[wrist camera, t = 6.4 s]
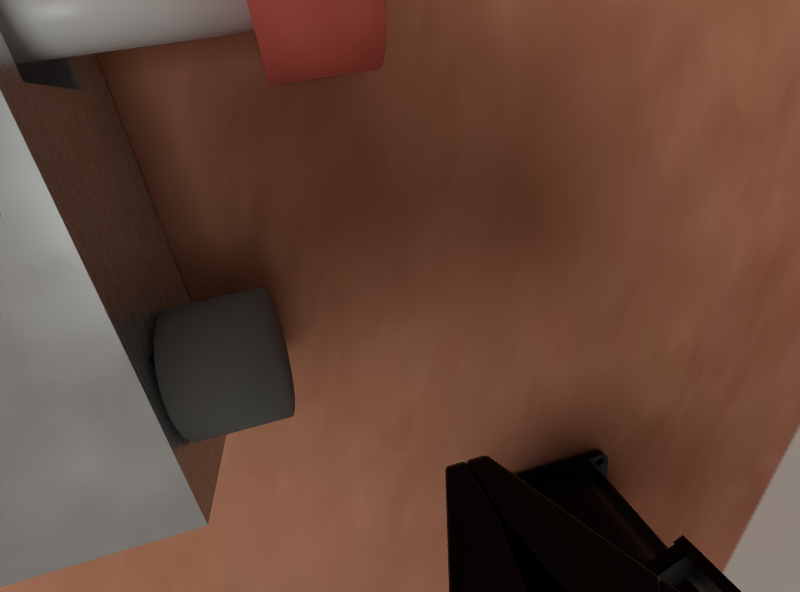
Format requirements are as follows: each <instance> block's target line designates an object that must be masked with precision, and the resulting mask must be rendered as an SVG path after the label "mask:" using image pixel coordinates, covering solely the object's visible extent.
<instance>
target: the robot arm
mask: <svg viewBox="0 0 800 592" xmlns="http://www.w3.org/2000/svg"><path fill="white" fill-rule="evenodd" d="M607 466H608V458H607V456H606V455H605V454H604V453H603V452H602V451H601V450H596V451H592V452H589V453H586V454H583V455H580V456H576V457H573V458H570V459H567V460H564V461H561V462H557V463H554V464H551V465H548V466H545V467H541V468H538V469H535V470H532V471H529V472H525V473H522V474H519V475H516V476H515V475H514V474H513V473H511V472H510V471H508V470H507V469H505V468H504V467H503V466H501V465H500V464H498V463H497V462H496V461H494V460H493V459H491V458H490V457H488V456H485V455H484V456H480V457H477V458H473V459H470V460H468V461H467V463H465V462H460V463H457V464H454V465H450V466H448V467H446V471H445V474H446V506H447V538H448V570H449V592H741V591H740V590H739V589H738V588H737V587H736V586H735V585H734V584H733V583H732V582H731V581H729V579H727V577H726V576H724V575H723V574H722V573H721V572H720V571H719V570H718V569H717V568H716V567H715V566H714V565H713V564H712V563H711V562H710V561H709V560H708V559H707V558H706V557H705V556H704V555H703V554H702V553H701V552H700V551H699V550H698V549H697V548H696V547H695V546H694V545H693V544H691V543H690V542H689V541H688V540H687V539H686V538H685V537H684V536H683V535H682V536H681V537H680V538H678V539H677V540H675V541H674V545H672V546H671V547H670V548H668V547H667V546H666V545H665V544H664V543H663V542H662V541H661V540H660V538H659V537H658V536H657V535H656V534H655V533H654V532H653V530H652V529H651V528H650V527H649V526H648V525H647V524H646V523H645V521H644V520H643V519H642V518H641V517H640V516H639V515H638V513H637V512H636V511H635V510H634V509H633V508H632V507H631V506H630V504H629V503H628V502H627V501H626V500H625V499H624V498H623V496H622V495H621V494H620V493H619V492H618V491H617V490H616V488H615V487H614V486H613V485H612V484H611V483H610V482H609V481H608V479H607Z"/></svg>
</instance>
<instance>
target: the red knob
mask: <svg viewBox="0 0 800 592" xmlns="http://www.w3.org/2000/svg"><path fill="white" fill-rule="evenodd" d="M0 31H1V34H2V36H3V38H4V40H5V43H6V45H7V47H8V49H9V51H10V54H11V56H12V58H13V60H14V62H15V64H21V63H28V62H36V61H43V60H50V59H58V58H65V57H72V56H80V55H87V54H94V53H102V52H109V51H116V50H124V49H131V48H138V47H146V46H153V45H160V44H168V43H175V42H182V41H190V40H197V39H204V38H212V37H219V36H226V35H234V34H241V33H248V32H255V34H256V38H257V42H258V45H259V49H260V53H261V56H262V60H263V64H264V67H265V71H266V74H267V78H268V81H269V84H270V86H276V85H283V84H289V83H295V82H302V81H308V80H315V79H321V78H328V77H334V76H340V75H347V74H353V73H360V72H366V71H372V70H379V69H380V68H381V66H382V63H383V59H384V53H385V42H386V5H385V0H0Z"/></svg>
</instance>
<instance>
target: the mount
mask: <svg viewBox="0 0 800 592" xmlns="http://www.w3.org/2000/svg"><path fill="white" fill-rule="evenodd" d="M187 303H191V302H190V299H189V297H188V294H187V292H186V289H185V286H184V284H183V281H182V279H181V276H180V273H179V271H178V268H177V266H176V263H175V260H174V258H173V255H172V253H171V250H170V247H169V245H168V242H167V240H166V237H165V234H164V232H163V229H162V227H161V224H160V221H159V219H158V216H157V214H156V211H155V208H154V206H153V203H152V201H151V198H150V195H149V193H148V190H147V188H146V185H145V182H144V180H143V177H142V175H141V172H140V170H139V167H138V164H137V162H136V159H135V157H134V154H133V151H132V149H131V146H130V144H129V141H128V138H127V136H126V133H125V131H124V128H123V125H122V123H121V120H120V118H119V115H118V112H117V110H116V107H115V105H114V102H113V99H112V97H111V94H110V92H109V89H108V86H107V84H106V81H105V79H104V76H103V73H102V71H101V68H100V66H99V63H98V60H97V58H96V55H95V53H94V54H87V55H80V56H72V57H65V58H58V59H50V60H43V61H36V62H28V63H21V64H15V62H14V60H13V58H12V56H11V54H10V51H9V49H8V47H7V45H6V43H5V40H4V38H3V36H2V34H1V31H0V587H2V586H5V585H9V584H12V583H16V582H19V581H22V580H26V579H29V578H32V577H36V576H39V575H42V574H46V573H49V572H52V571H56V570H59V569H62V568H66V567H69V566H73V565H76V564H79V563H83V562H86V561H89V560H93V559H96V558H99V557H103V556H106V555H109V554H113V553H116V552H119V551H123V550H126V549H130V548H133V547H136V546H140V545H143V544H146V543H150V542H153V541H156V540H160V539H163V538H166V537H170V536H173V535H176V534H180V533H183V532H187V531H190V530H193V529H197V528H200V527H203V526H207V525H208V522H209V517H210V512H211V507H212V502H213V497H214V492H215V488H216V483H217V478H218V473H219V468H220V463H221V458H222V453H223V448H224V444H225V439H226V434H225V435H222V436H218V437H214V438H211V439H207V440H203V441H200V442H190V441H188V440H186V439H185V438H184V437H183V436H182V435H181V434H180V433H179V432H178V431H177V429H176V428H175V426H174V424H173V423H172V421H171V419H170V417H169V415H168V413H167V410H166V408H165V405H164V402H163V399H162V396H161V393H160V389H159V385H158V381H157V376H156V373H155V371H154V369H153V366H152V364H151V362H150V360H149V358H150V356H151V354H152V353H154V332H155V326H156V322H157V319H158V317H159V315H160V313H161V312H162V311H163V310H164V309H166V308H169V307H174V306H178V305H183V304H187Z"/></svg>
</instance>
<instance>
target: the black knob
mask: <svg viewBox="0 0 800 592" xmlns="http://www.w3.org/2000/svg"><path fill="white" fill-rule="evenodd" d="M149 360H150V362H151V364H152V366H153V369H154V371H155V373H156V376H157V381H158V385H159V389H160V393H161V396H162V399H163V402H164V405H165V408H166V410H167V413H168V415H169V417H170V419H171V421H172V423H173V424H174V426H175V428H176V429H177V431H178V432H179V433H180V434H181V435H182V436H183V437H184V438H185V439H186V440H188V441H190V442H200V441H203V440H207V439H211V438H214V437H218V436H222V435H225V434H229V433H233V432H237V431H240V430H244V429H248V428H251V427H255V426H259V425H263V424H266V423H270V422H274V421H277V420H281V419H285V418H289V417H292V416H293V415H294V412H295V395H294V385H293V378H292V372H291V366H290V361H289V356H288V352H287V347H286V343H285V339H284V335H283V332H282V328H281V324H280V321H279V318H278V315H277V312H276V309H275V306H274V304H273V301H272V299H271V297H270V295H269V293H268V291H267V290H266V288H265V287H259V288H255V289H250V290H246V291H241V292H237V293H232V294H228V295H223V296H219V297H214V298H210V299H205V300H201V301H196V302H192V303H187V304H183V305H178V306H174V307H169V308H166V309H164V310H163V311H162V312H161V313H160V315H159V317H158V319H157V322H156V326H155V332H154V353H152V354H151V356H150V358H149Z"/></svg>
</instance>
